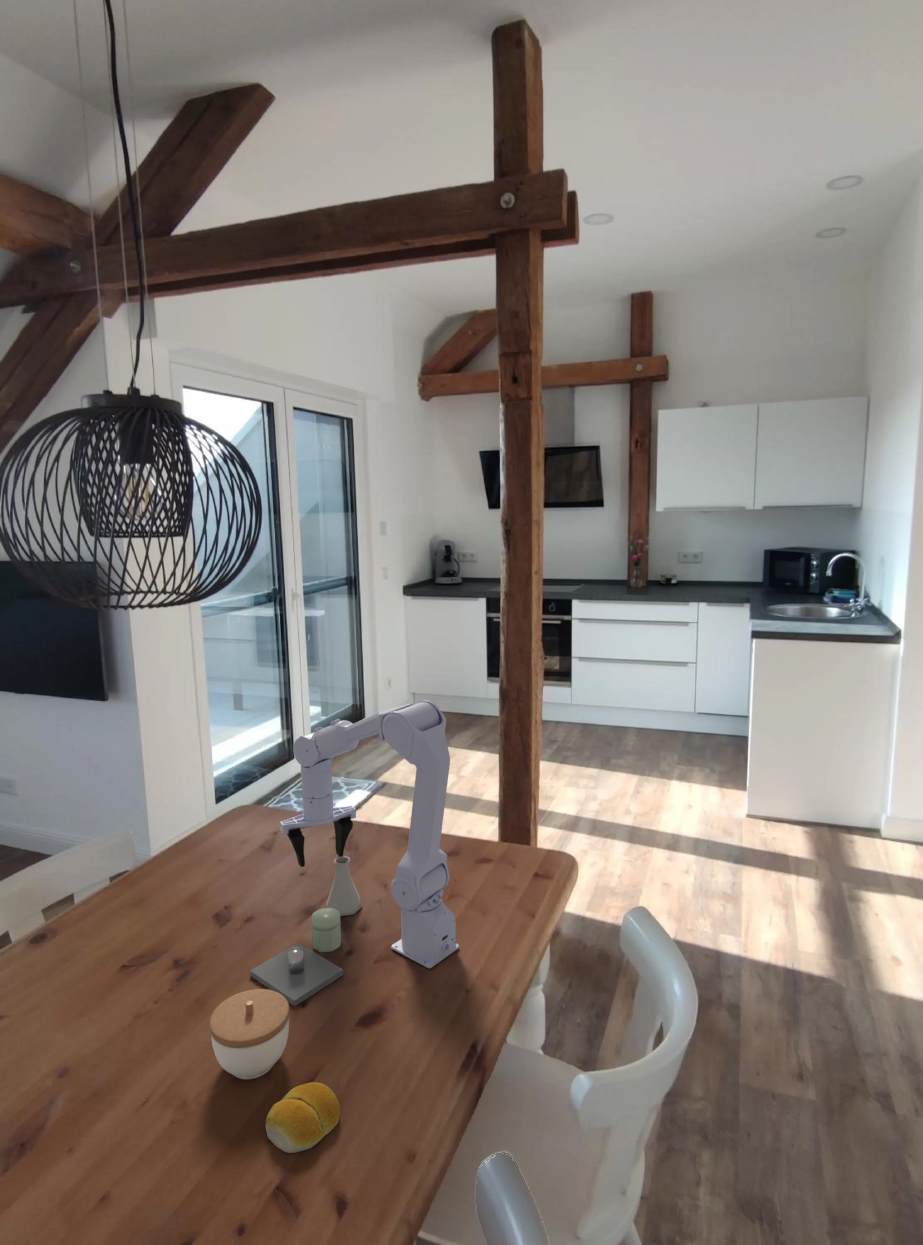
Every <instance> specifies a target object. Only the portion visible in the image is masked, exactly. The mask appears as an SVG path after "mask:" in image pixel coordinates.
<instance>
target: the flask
mask: <svg viewBox="0 0 923 1245" xmlns="http://www.w3.org/2000/svg"><path fill="white" fill-rule="evenodd" d="M350 863H351V858H350V857H349V856H345V855H343V856H341V857H339V856H337V857H335V858H334V859H333V864H334V866H335V873H334V878H333V881H332V885H331V889H330V891H329V895H328V898H327V900H326V904H325V908H334V909H336V910H338V911H339V912H340V917H343V916H351V915H355V914H356V913H357V912H358V911H359V910H360V909H361V908H362V907H363V905H362V899H361V897H360V894H359V892H358V890H357V888H356V886H355V883H354V881H353V877H352V876H351V872H350Z"/></svg>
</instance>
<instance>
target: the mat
mask: <svg viewBox="0 0 923 1245" xmlns="http://www.w3.org/2000/svg"><path fill="white" fill-rule="evenodd" d="M295 946H299V947H302V948H303V956H304V971H303V972H302V973H300V974H297V975H293V974H290V973H289V964H288V950H289V949H290V948H292V947H295ZM249 975H250V977H251V978H253V979H254V980H256V981H257V982H259V983H260V984H262V985H263V986H264V987H266V989H267V988H268V990H273V991H276V992H278V993H280V994H281V995H283V996H284V997H285V998H286V1000H287V1001H288V1004H289V1005H290V1004H291V1006H293V1007H296V1006H298V1005H299V1004H301V1003H303V1002H304V1001H305V1000H307V999H308V998H310V997H312V996H313V995H314V994H316V993H317V992H319V991H321V990H322V989H324V988H325V987H328V986H329V985H331V984H332V983H333V982H335V981H336V980H338V979H340V977H343V976H344V969H343V968H341V967H340V966H338V965H336V964H335V963H333V962H332V961H331V960H329V959H326V958H325V957H323V956H321V955H319V954H318V953H316V952H314V951H313V950H311V949H310V948H308V947H306V946H304V945H303V944H301V943H300V942H298V943H296V944H294V945H292V946H291V947H289V948H287V949H285V950H283V951H281V952H280V953H278V954H275V956H273V957H271V958H270V959H268V960H266V961H264V962H262V963H261V964H259V965H257V966H255V967H254V968H252V969H250V970H249Z"/></svg>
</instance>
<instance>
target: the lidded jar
mask: <svg viewBox="0 0 923 1245" xmlns="http://www.w3.org/2000/svg"><path fill="white" fill-rule="evenodd" d="M289 1029H290V1003H289V1002H288V1001H287V1000H286V998H285V997H284V996H283V995H281V994H280V993H278V992H276V991H273V990H270V989H269V988H268V989H267V988H266V989H265V988H255V989H248V990H245V991H241V992H238V993H236V994H234V995H232V996H229V997H228V998H226V999H224V1001H222V1002H221V1003H220V1004H219V1005H217V1007H216V1008H215V1009H214V1011H213V1012H212V1014H211V1016H210V1019H209V1032H210V1035H211V1036H210V1037H211V1045H212V1049H213V1053H214V1055H215V1058H216V1060H217V1062H218V1064H219V1066H221V1067H222V1069H223V1070H224V1071H226V1072H227V1073H229V1074H231V1075H232V1076H233V1077H234V1078H237V1079H240V1080H244V1081H245V1080H254V1079H257V1078H260V1077H262V1076H264V1075H265V1074H266V1073H268V1072H269V1071H270V1070H271V1069H272V1068H273V1067H274V1065H276V1063H277V1062H278V1060H280V1058H281V1057H282V1054H283V1053H284V1051H285V1048H286V1046H287V1043H288V1038H289V1032H290V1030H289Z"/></svg>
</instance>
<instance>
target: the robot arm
mask: <svg viewBox="0 0 923 1245" xmlns="http://www.w3.org/2000/svg"><path fill="white" fill-rule="evenodd" d="M329 723H330V725H328V726H325V727H323V726H320V727H316V728H315V729H314V732H311V733H308V734H306V735H300V736H298V738H296V740H294V742H293V745H292V752H293V756H294V758H295V760H296V761H297V763H298V764H299V765H300V775H301V776H300V777H301V793H302V794H301V795H302V811H303V812H302V813H301V814H299V815H296V816H293V817H291V818H288V819H285V820H281V821H279V826H280V829H279V830H280V832H281V834H282V835H287V837H288V838H289V841H290V842H291V845H292V847H293V850H294V853H295V856H296V858H297V864H298V865H299V866H300V868H303V867H306V860H305V838H306V837H305V836H304V835H303V831H301V830H303V829H307V828H312V827H316V826H317V827H318V826H323V825H327V824H330V823H333V826H334V827H333V828H334V835H335V839H334V840H335V843H334V844H335V854H336V855H337V857H341V856H344V852H345V851H344V850H345V847H346V843H347V840H348V838H349V835H350V833H351V831H352V829H353V828H354V827H353V826H354V822H353V821H352V819H356V818H357V809H356V807H355V806H353V805H347V806H339V807H334V797H333V796H334V795H333V774H332V773H333V772H332V767H333V765H334V758H335V757H338V756H341V755H343V754H346V753H348V752H351V751H354V750H355V749H356V748H358V745H359V742H360V741H361V740H364V739H367V738H370V737H373V736H375V735H379V736H378V737H379V739H380V740H381V741H385V742H386V743H388V745H389V746H390V747H392V749H394V751H396V752H397V754H399V755H400V756H401V757H402V758H403V759H404V760H406V762H408V763H409V764H410V765H414V766H415V768H416V769H415V770H416V771H415V781H414V790H413V797H412V798H413V799H412V806H411V815H410V825H409V834H408V841H407V850H406V852H405V853H404V855H403V856H402V858H401V860H400V861H399V863H398V865H397V867H396V868H397V869H396V874H395V876H393V879H392V880H391V883H390V891H391V895H392V898H393V900H394V901H395V902H396V904H397V906H398V907H399V908H400V927H401V928H400V932H401V934H400V935H401V938H400V939H399V940H398V941H396V942H394V943H392V945H391V946H390V947H391V948H390V949H391V950H393V951H395V952H397V953H399V954H401V955H403V956H404V957H406V958H408V959H410V960H412V961H413V962H416V963H418V964H419V965H421V966H423V967H425V968H427V969H432V968H434V967H435V965H437V964H439V963H440V962H441V961H443V960H444V959H446V958H447V957H449V956H450V955H452V953H454V952H455V951H457V950H458V949H459V948H460V945H459V943H457V927H456V924H457V922H456V920H457V918H456V915H455V913H454V912H453V911H452V910H451V909H449V908H448V907H447V906H446V905H445V903H444V901H443V899H442V896H443V895H444V888H445V887H446V886H447V885H448V884H449V881H450V872H449V869H448V868H449V867H448V863H447V861H448V854H446V853H445V852H444V850H443V849H441V848H440V846H441V839H442V831H443V824H444V823H443V822H444V814H445V806H446V799H447V798H446V797H447V788H448V782H449V774H450V764H451V755H450V751H449V750H450V749H449V747H448V742H447V736H446V726H447V718H446V716H445V715H444V713H443V712H442V711H441V709H440V708H439V707H438V706H437V704H436V703H434V702H433V701H431V700H428V699H425V700H424V699H423V700H420V701H419V702H416V703H414V702H413V703H412V702H411V703H407V704H402V705H399V706H395V707H390V708H387V709H385V710H382V711H379V712H377V713H374V714H371V715H370V716H367V717H366V718H363V719H361V720H359V721H357V722H354V723H353V722H351V721H349V720H346V719H345V720H341V719H340V718H337V719H335V720H334V719H333V720H332V721H330V722H329Z"/></svg>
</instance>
